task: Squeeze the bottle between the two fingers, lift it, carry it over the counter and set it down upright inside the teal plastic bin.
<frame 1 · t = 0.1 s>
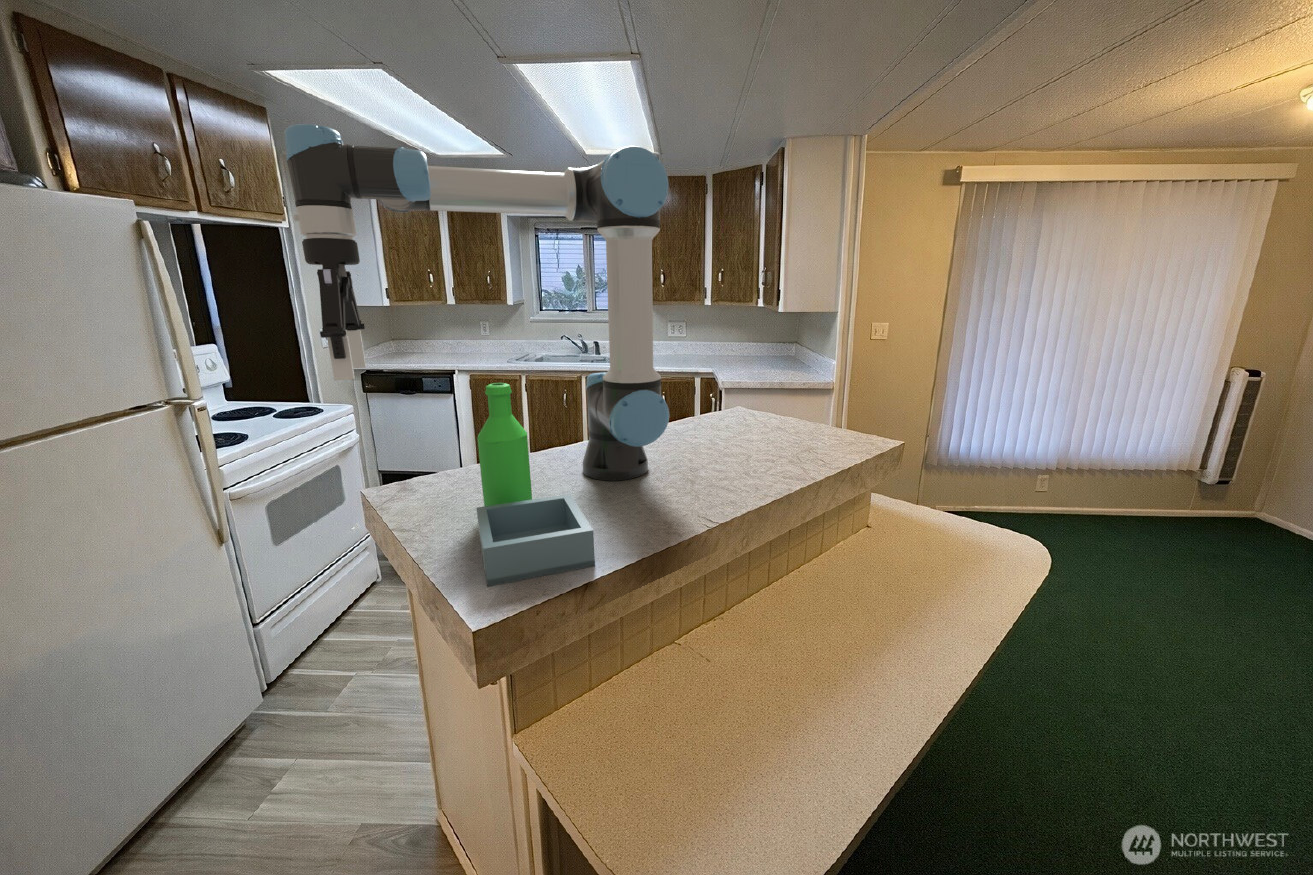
hand: (351, 373, 91), 28 cm above the countertop, fingers open, 13 cm apart
bin: (534, 552, 89), on the countertop
bottle: (509, 515, 104), on the countertop
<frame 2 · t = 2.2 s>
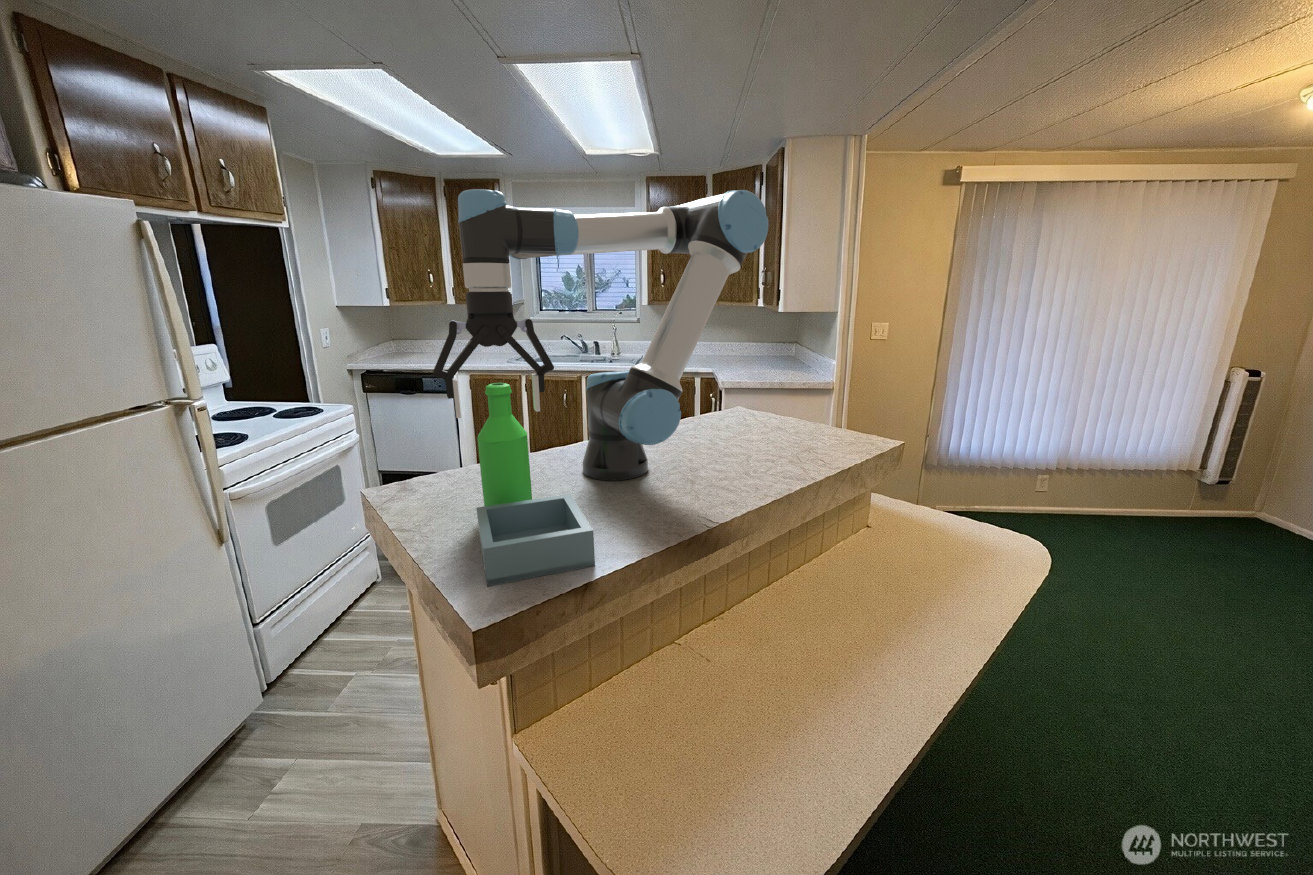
hand: (498, 413, 98), 20 cm above the countertop, fingers open, 13 cm apart
nothing on the countertop moved.
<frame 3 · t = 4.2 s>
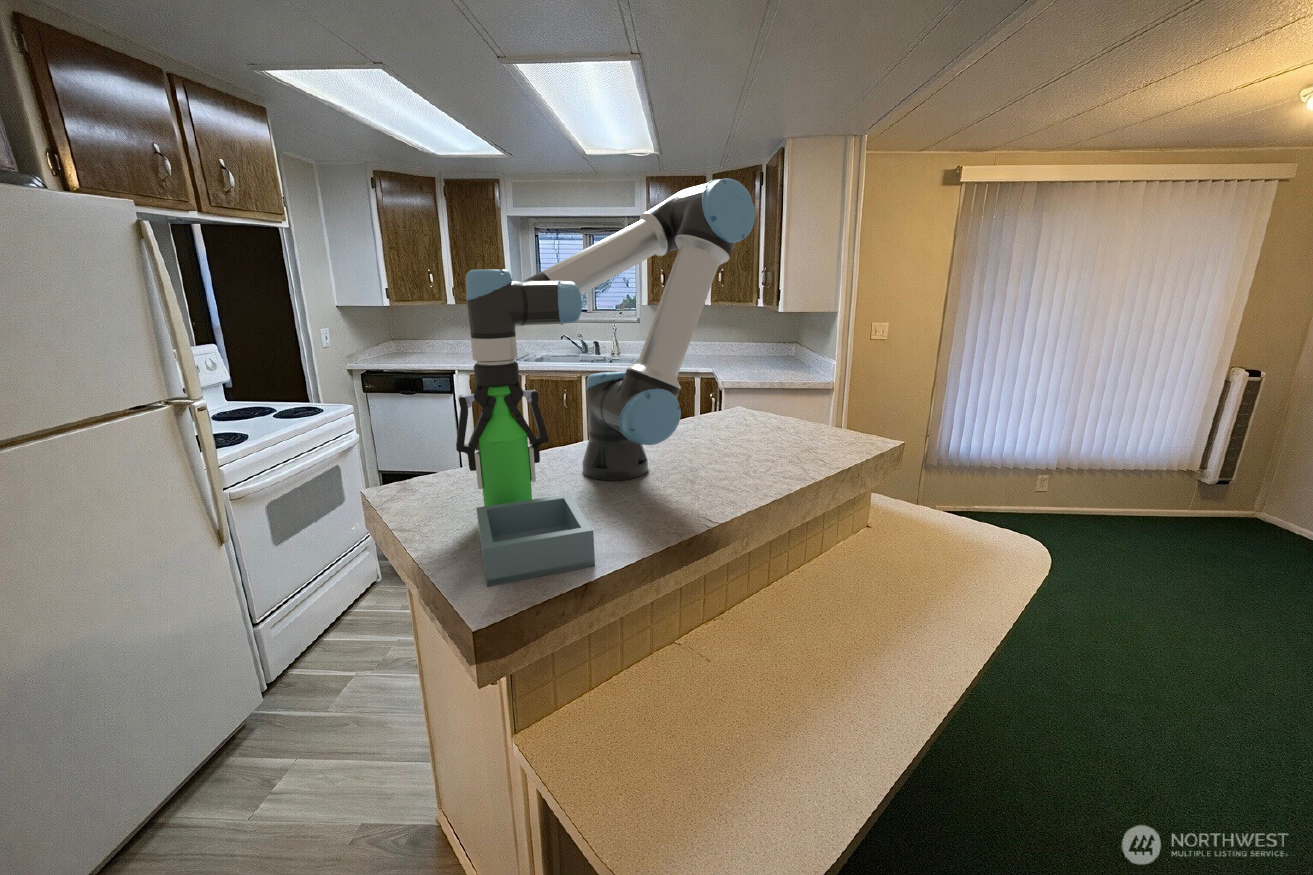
hand: (506, 482, 102), 6 cm above the countertop, fingers closed on bottle, 9 cm apart
bottle: (509, 515, 104), on the countertop, touching gripper
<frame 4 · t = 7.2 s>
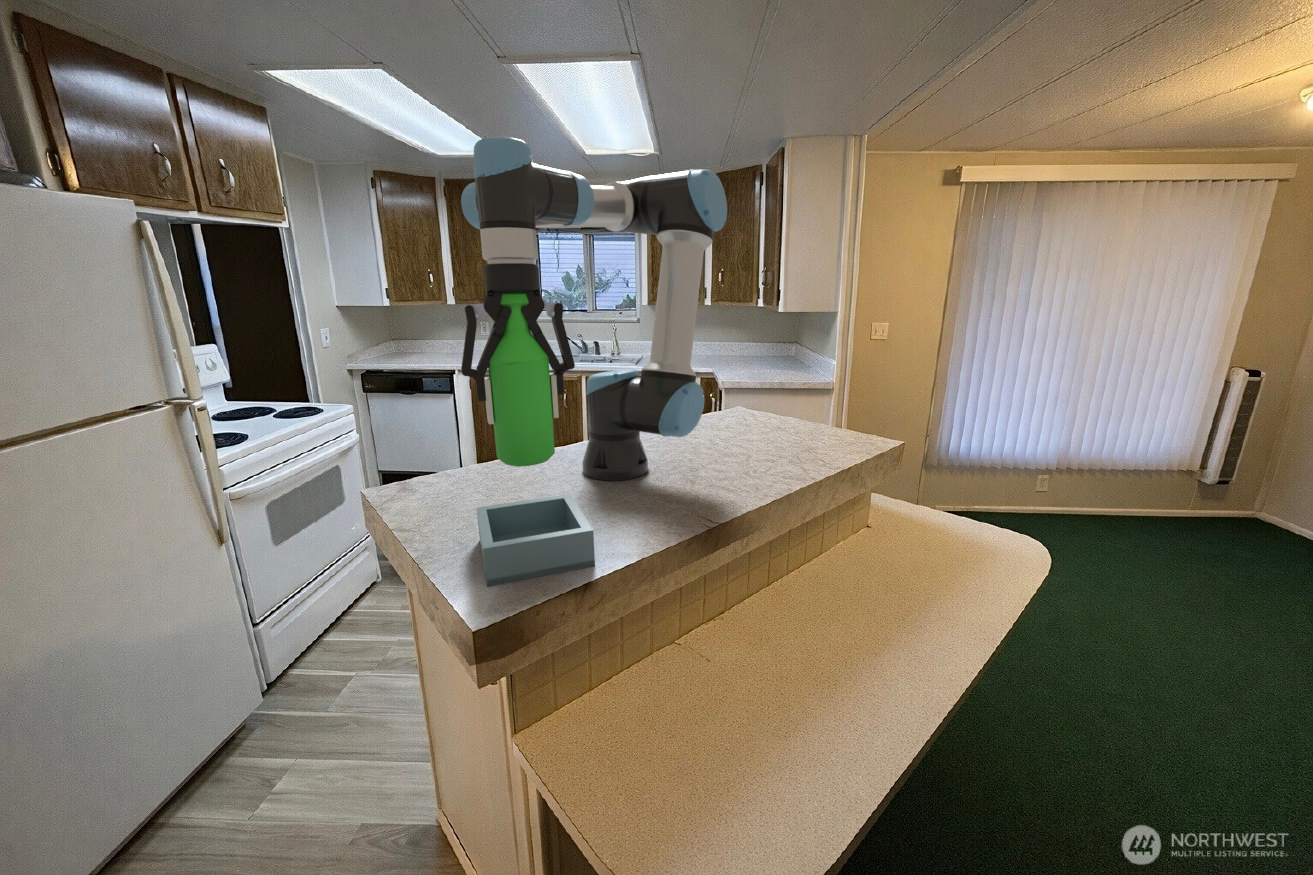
hand: (523, 418, 83), 22 cm above the countertop, fingers closed on bottle, 9 cm apart
bottle: (526, 460, 85), point 16 cm above the countertop, touching gripper
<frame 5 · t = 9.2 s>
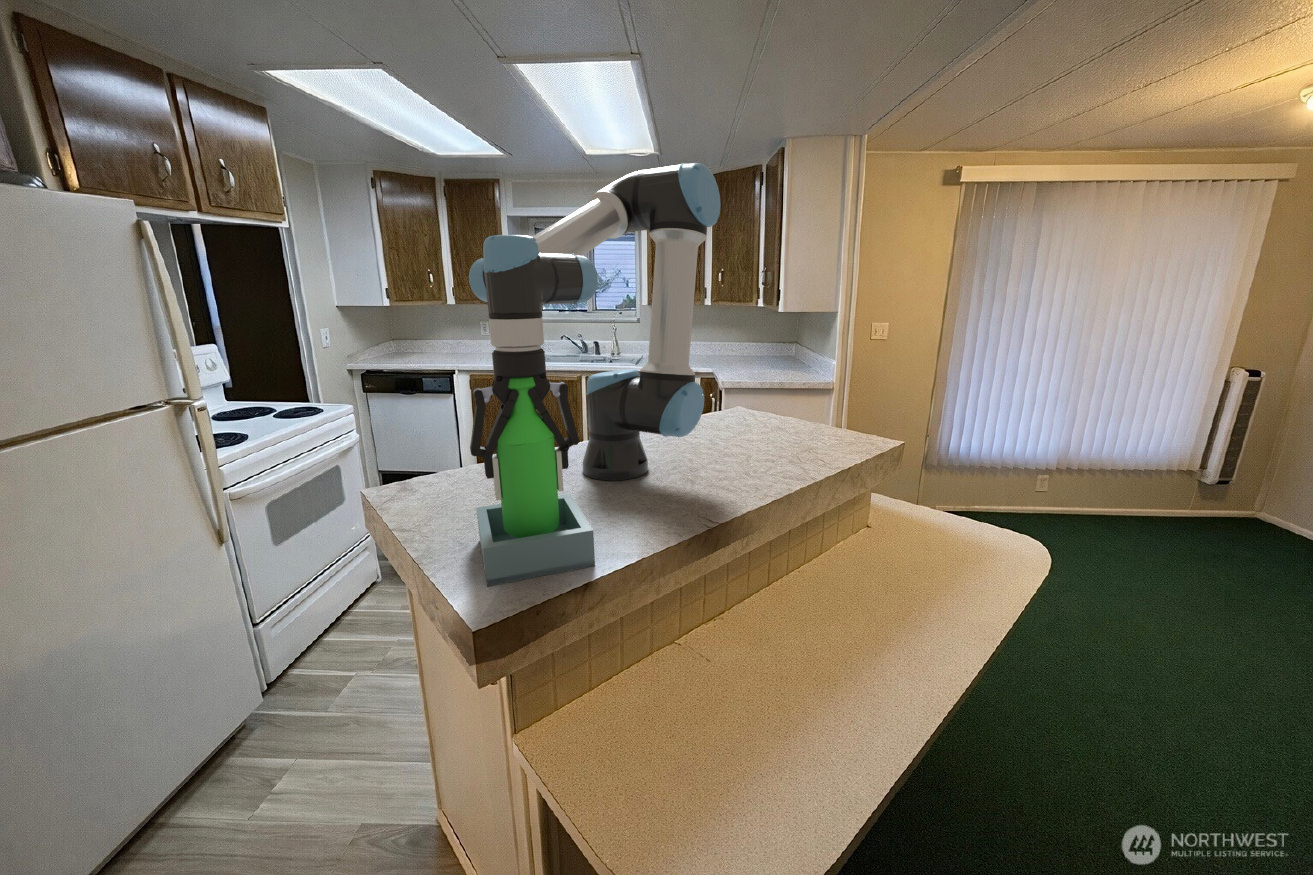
hand: (529, 492, 86), 10 cm above the countertop, fingers closed on bottle, 9 cm apart
bottle: (532, 531, 88), point 4 cm above the countertop, touching gripper
when the fingers open (9 cm above the countertop, at t = 10.5 s): bottle drops 1 cm, resting on bin.
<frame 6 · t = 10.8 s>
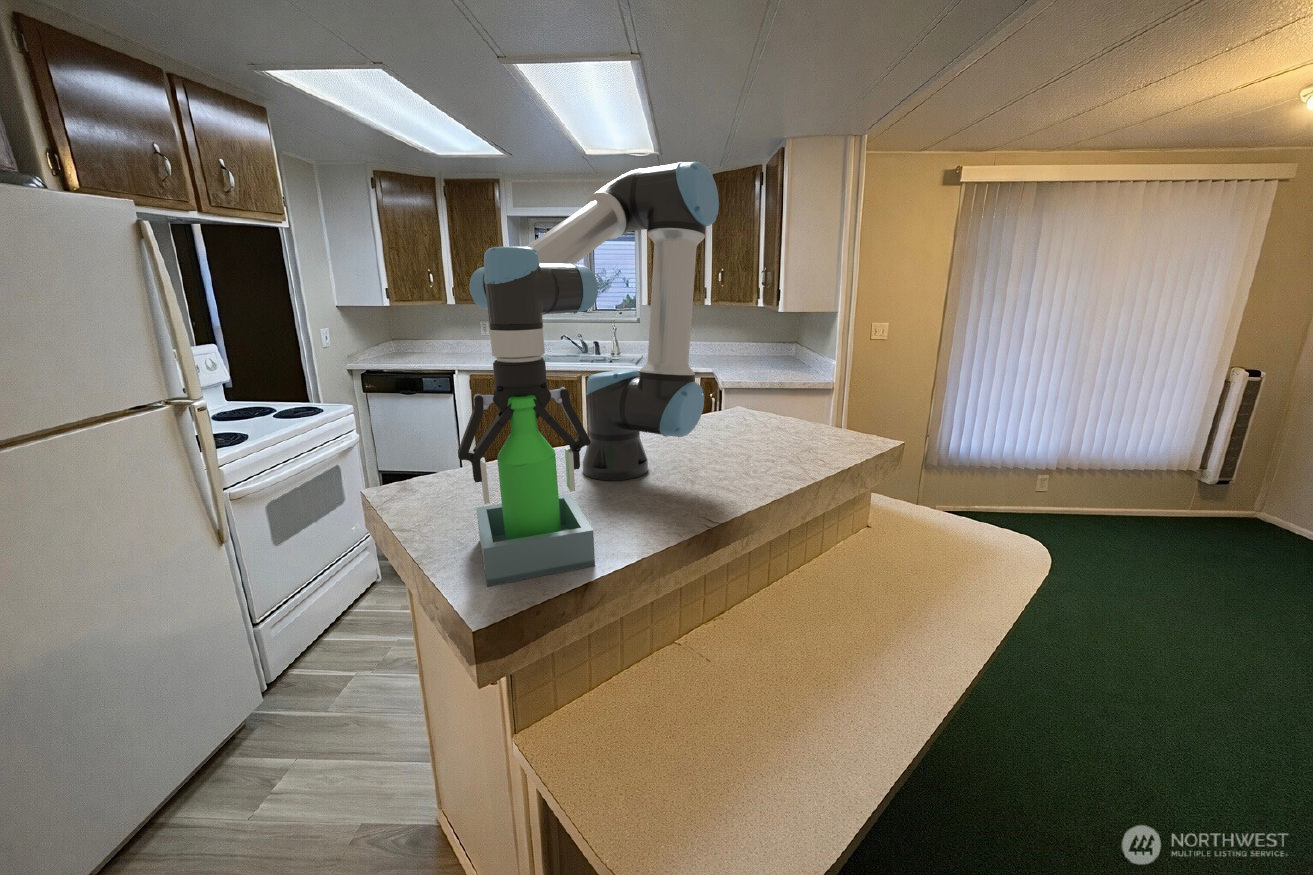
hand: (529, 494, 86), 10 cm above the countertop, fingers open, 12 cm apart
bottle: (534, 546, 89), point 1 cm above the countertop, touching bin
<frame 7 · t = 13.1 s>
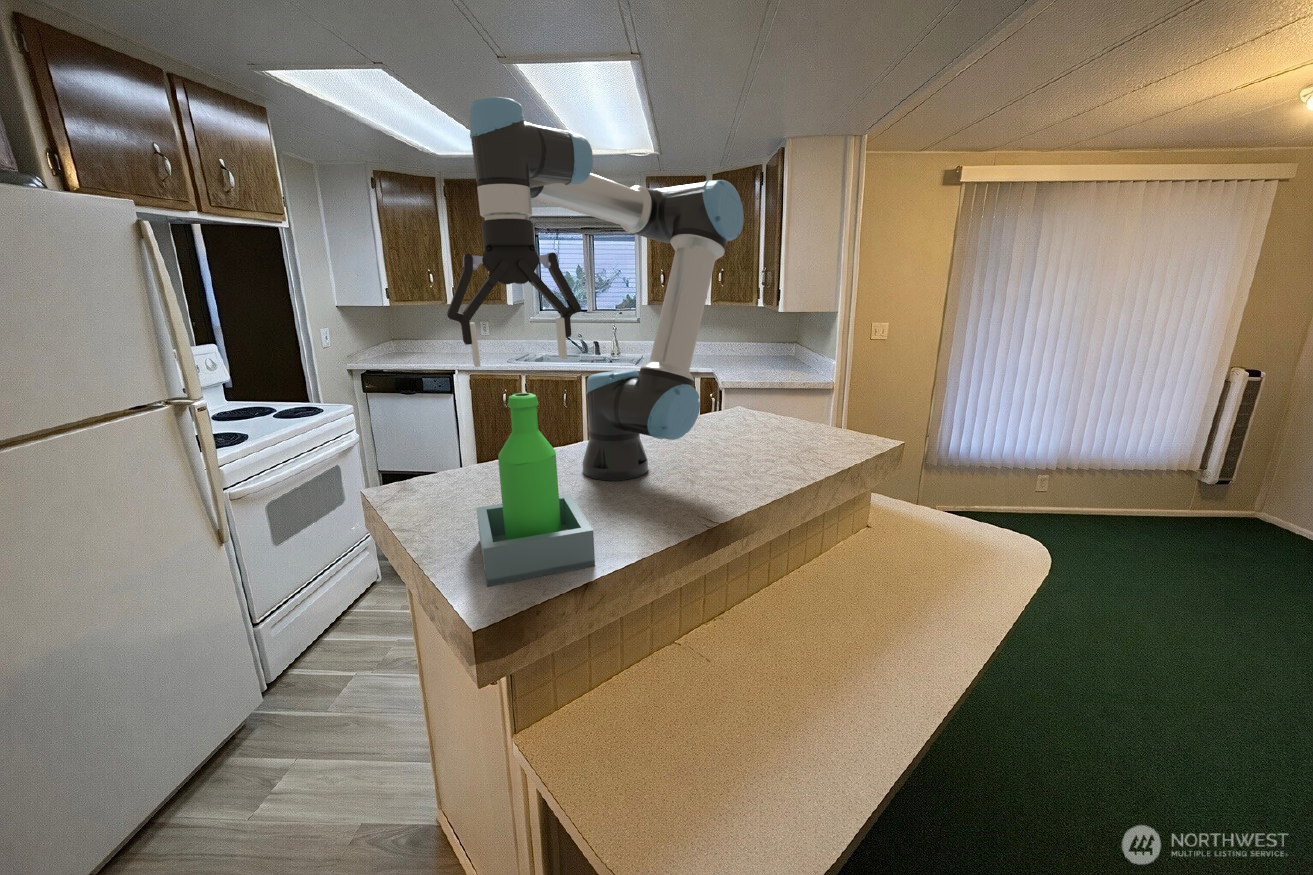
hand: (521, 361, 88), 30 cm above the countertop, fingers open, 13 cm apart
nothing on the countertop moved.
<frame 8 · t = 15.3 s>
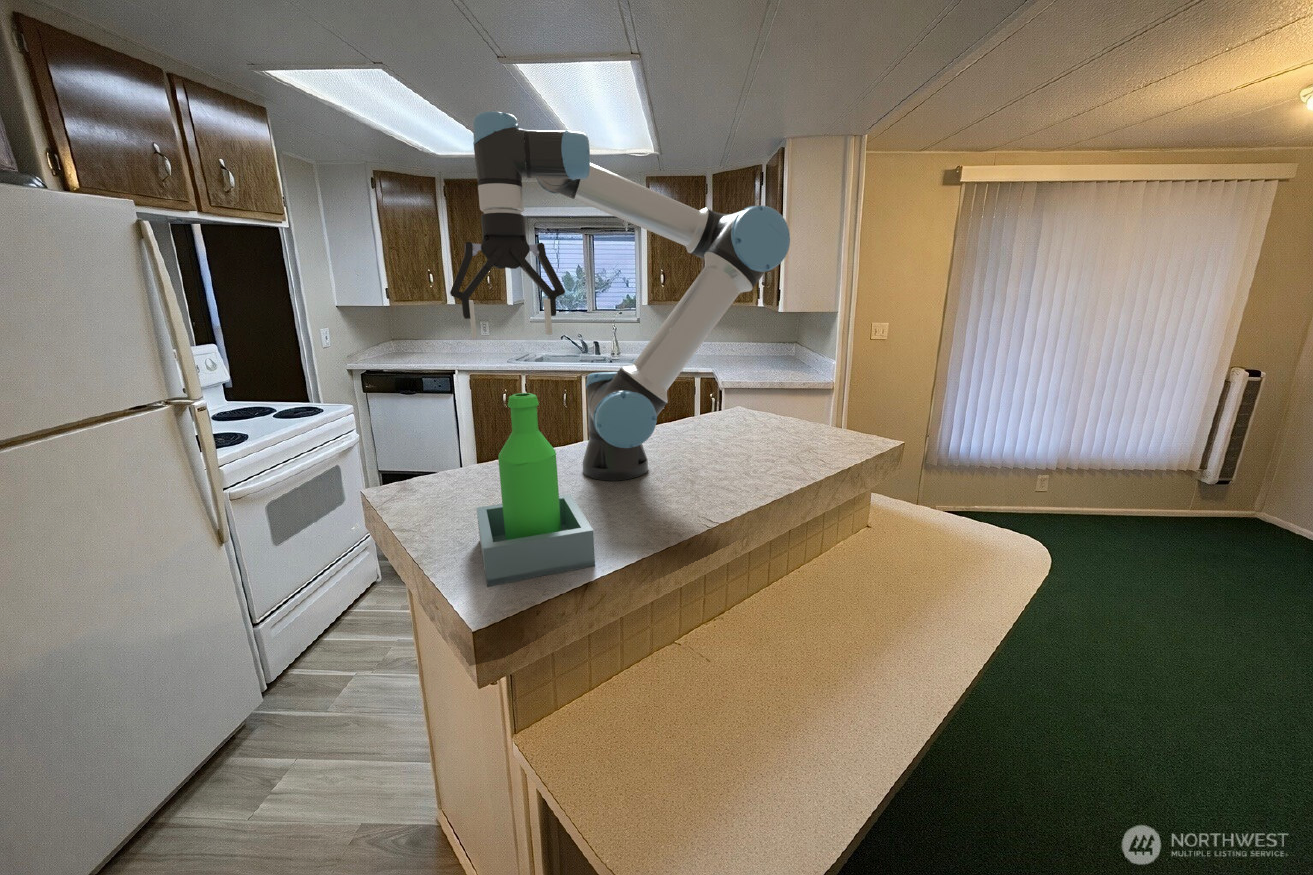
hand: (512, 335, 102), 33 cm above the countertop, fingers open, 13 cm apart
nothing on the countertop moved.
at the end: bottle inside the target area on the bin (0.1 cm from its centre), point 0.8 cm above the bin's base; bottle tilted 0°; the gripper is holding nothing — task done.
